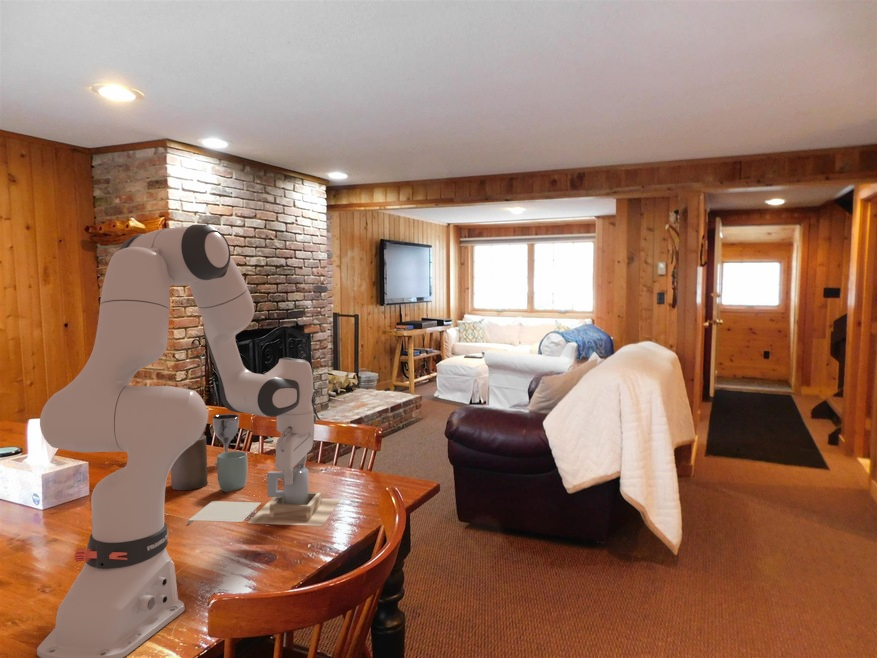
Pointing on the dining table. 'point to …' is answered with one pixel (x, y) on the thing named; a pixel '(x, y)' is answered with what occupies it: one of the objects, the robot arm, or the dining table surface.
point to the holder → (296, 511)
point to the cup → (232, 470)
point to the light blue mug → (290, 486)
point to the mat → (225, 511)
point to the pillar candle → (191, 467)
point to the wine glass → (225, 428)
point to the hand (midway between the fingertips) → (295, 477)
